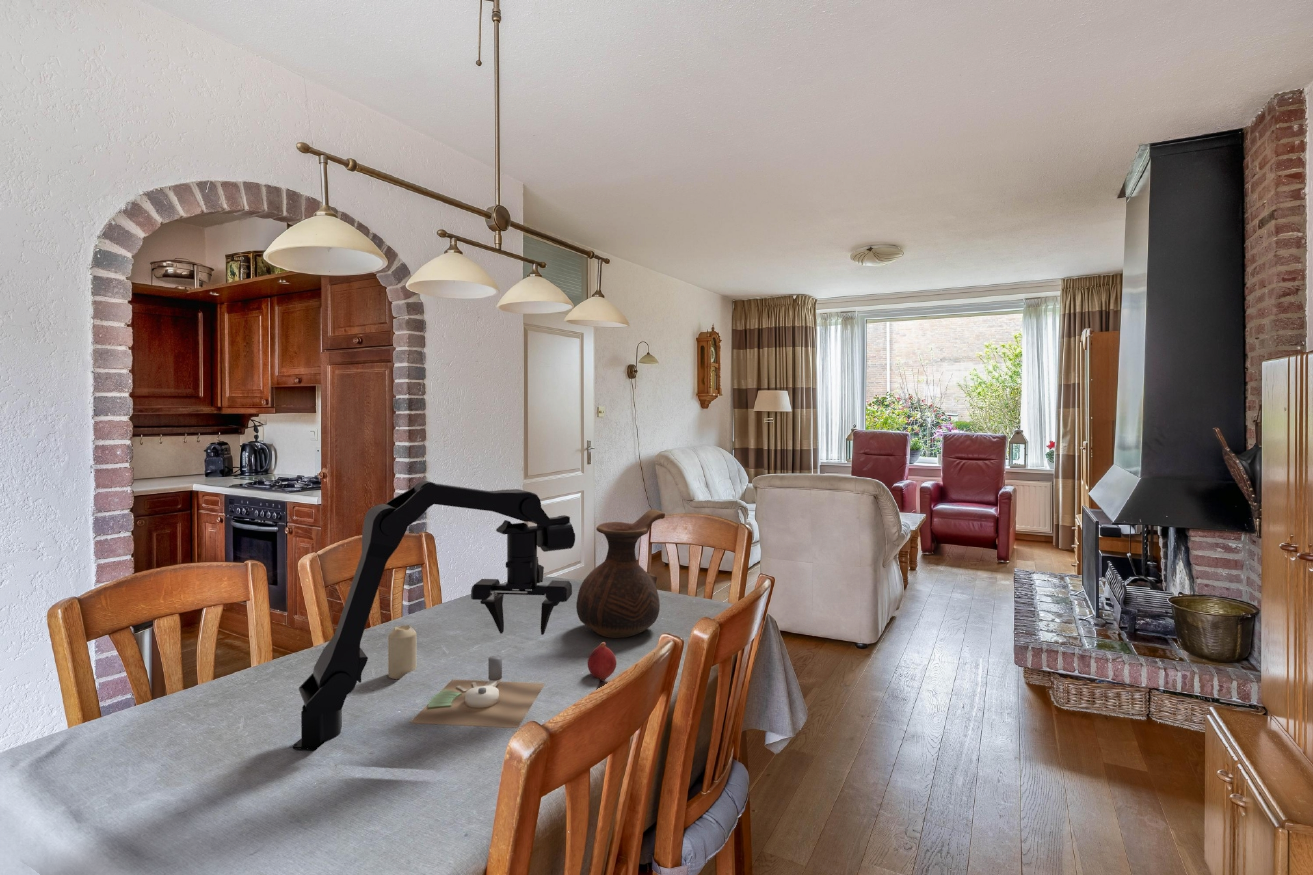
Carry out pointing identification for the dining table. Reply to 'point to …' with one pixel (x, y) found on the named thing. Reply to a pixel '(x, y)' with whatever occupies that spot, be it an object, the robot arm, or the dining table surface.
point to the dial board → (504, 713)
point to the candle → (401, 651)
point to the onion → (602, 662)
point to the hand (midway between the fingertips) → (522, 633)
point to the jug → (620, 584)
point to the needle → (486, 686)
